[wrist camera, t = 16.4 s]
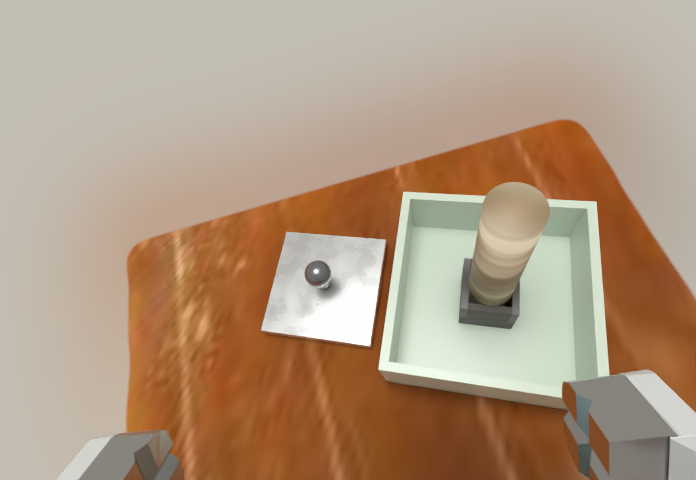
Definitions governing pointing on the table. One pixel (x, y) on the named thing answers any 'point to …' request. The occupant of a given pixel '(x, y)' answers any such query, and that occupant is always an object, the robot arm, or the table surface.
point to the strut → (502, 254)
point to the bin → (535, 305)
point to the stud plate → (327, 289)
